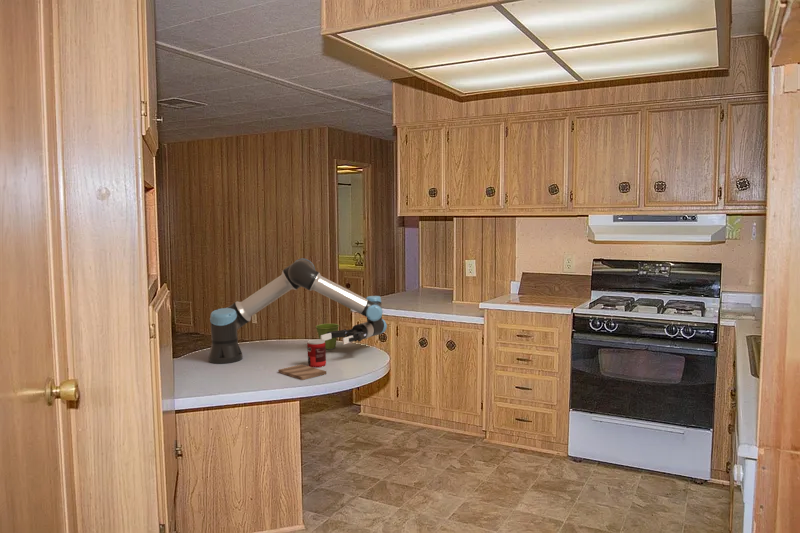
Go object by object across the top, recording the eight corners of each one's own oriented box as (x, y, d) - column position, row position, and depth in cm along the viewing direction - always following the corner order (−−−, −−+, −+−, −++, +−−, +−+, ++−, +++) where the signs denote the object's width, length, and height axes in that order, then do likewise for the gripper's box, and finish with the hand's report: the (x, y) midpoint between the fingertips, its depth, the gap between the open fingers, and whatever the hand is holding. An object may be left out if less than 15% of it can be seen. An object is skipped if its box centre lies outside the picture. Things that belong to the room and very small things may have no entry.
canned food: (311, 363, 273) (310, 339, 272) (328, 363, 272) (327, 339, 271) (305, 367, 266) (304, 342, 265) (322, 367, 264) (321, 343, 263)
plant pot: (311, 348, 302) (310, 326, 301) (328, 344, 311) (328, 322, 310) (327, 351, 294) (326, 329, 293) (345, 347, 303) (344, 325, 302)
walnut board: (278, 372, 259) (278, 369, 259) (301, 366, 267) (301, 364, 267) (302, 380, 246) (302, 377, 245) (326, 374, 254) (326, 371, 254)
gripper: (382, 341, 286) (353, 350, 269) (343, 336, 300) (312, 345, 283) (382, 325, 285) (352, 334, 268) (342, 321, 300) (311, 329, 283)
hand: (331, 339), depth 276 cm, fingers open, 13 cm apart
